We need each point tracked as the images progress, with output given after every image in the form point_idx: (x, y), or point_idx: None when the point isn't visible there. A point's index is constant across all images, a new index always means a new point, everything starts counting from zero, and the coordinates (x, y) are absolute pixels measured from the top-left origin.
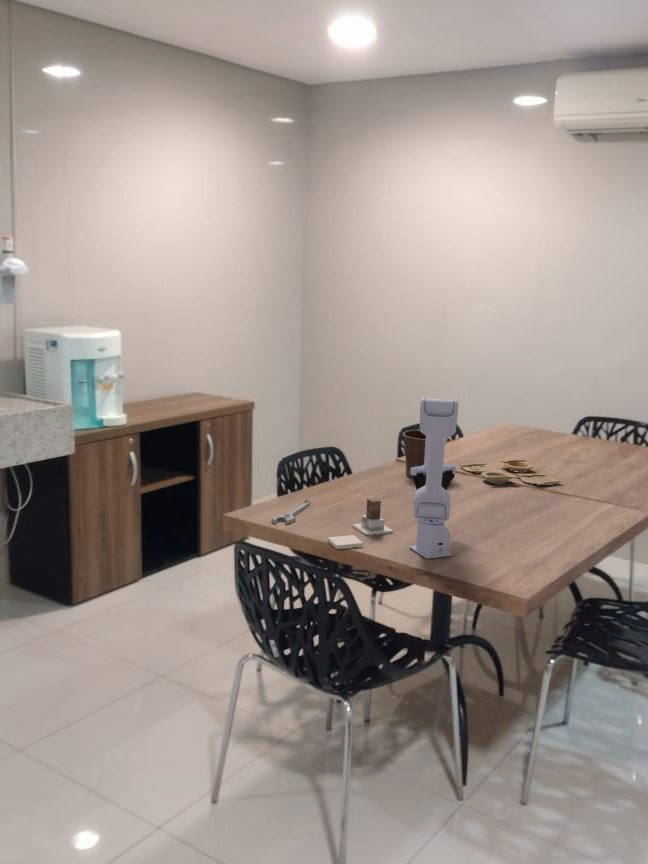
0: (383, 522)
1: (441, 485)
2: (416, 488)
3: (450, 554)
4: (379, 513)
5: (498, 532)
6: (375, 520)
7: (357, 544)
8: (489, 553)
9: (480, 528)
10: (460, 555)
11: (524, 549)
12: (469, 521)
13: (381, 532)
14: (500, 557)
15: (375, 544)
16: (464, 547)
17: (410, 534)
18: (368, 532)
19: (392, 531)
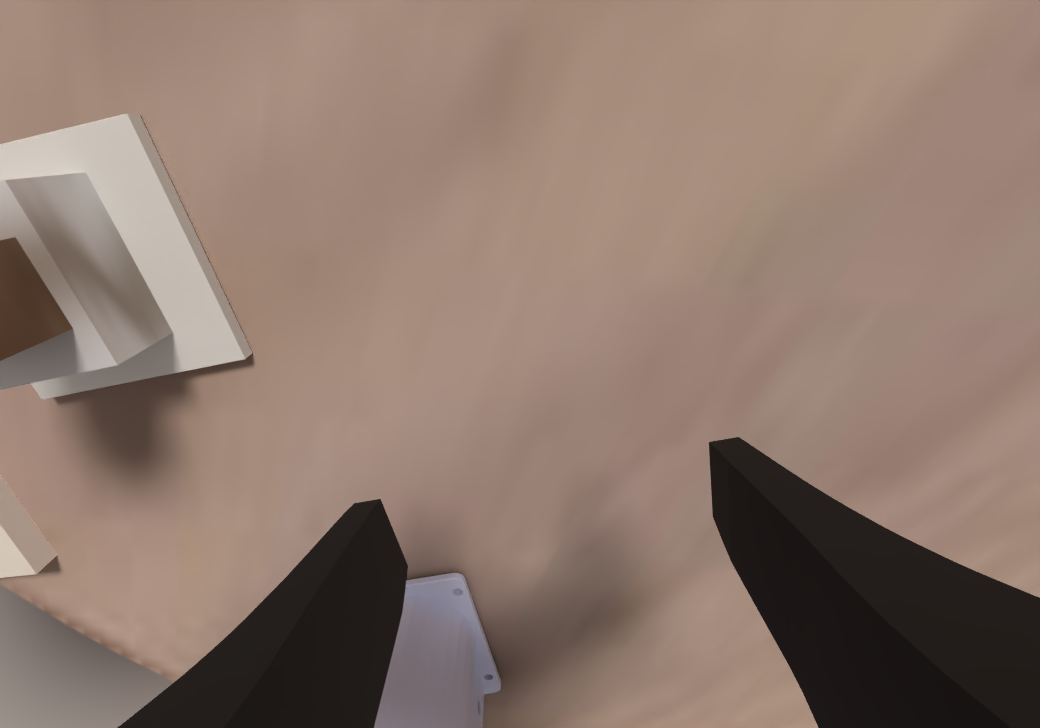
0: (126, 358)
1: (792, 568)
2: (275, 597)
3: (494, 692)
4: (21, 349)
5: (993, 415)
6: (36, 372)
7: (9, 572)
8: (698, 667)
9: (938, 326)
10: (548, 675)
11: None
12: (991, 138)
13: (157, 374)
14: (718, 703)
15: (128, 530)
16: (619, 602)
17: (372, 397)
18: (56, 380)
19: (242, 358)
